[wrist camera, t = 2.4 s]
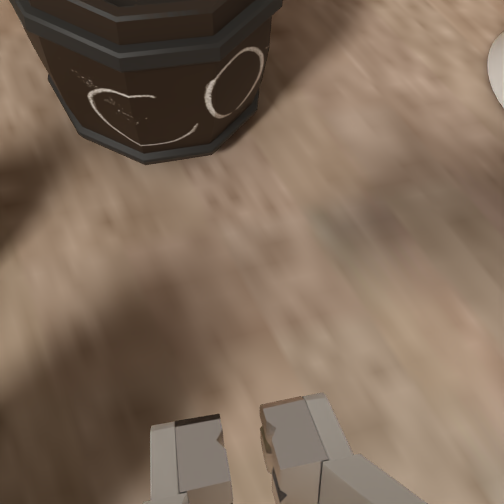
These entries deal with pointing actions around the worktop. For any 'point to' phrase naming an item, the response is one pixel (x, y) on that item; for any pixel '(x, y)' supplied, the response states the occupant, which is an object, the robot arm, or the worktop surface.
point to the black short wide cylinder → (153, 69)
